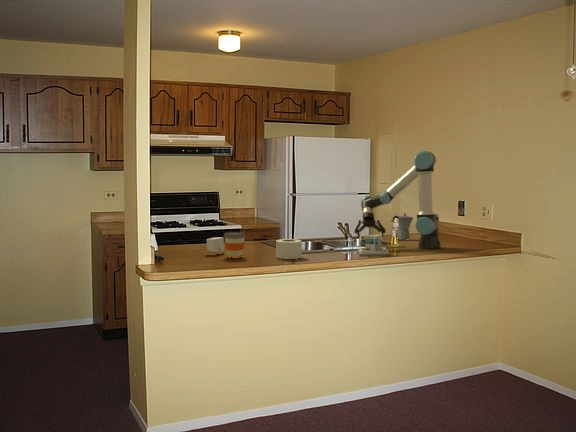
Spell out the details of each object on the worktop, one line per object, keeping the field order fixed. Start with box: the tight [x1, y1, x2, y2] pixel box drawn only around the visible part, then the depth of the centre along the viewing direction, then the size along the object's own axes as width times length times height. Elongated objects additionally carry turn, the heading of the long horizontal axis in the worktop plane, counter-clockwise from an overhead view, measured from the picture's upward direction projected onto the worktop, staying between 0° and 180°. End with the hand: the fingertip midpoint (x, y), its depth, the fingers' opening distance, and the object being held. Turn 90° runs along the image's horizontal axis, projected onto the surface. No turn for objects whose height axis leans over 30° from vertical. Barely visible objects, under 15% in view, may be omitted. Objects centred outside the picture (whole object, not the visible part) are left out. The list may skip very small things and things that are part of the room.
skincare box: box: [206, 236, 225, 252], centre depth 395 cm, size 10×6×10 cm, turn 152°
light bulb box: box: [364, 234, 382, 251], centre depth 395 cm, size 11×7×11 cm, turn 148°
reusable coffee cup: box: [223, 231, 246, 256], centre depth 381 cm, size 13×13×15 cm
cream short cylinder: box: [275, 238, 303, 260], centre depth 379 cm, size 16×15×11 cm
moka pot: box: [392, 212, 414, 241], centre depth 468 cm, size 10×15×20 cm, turn 78°
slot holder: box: [356, 246, 391, 257], centre depth 395 cm, size 19×19×3 cm
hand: (371, 240), depth 405 cm, fingers open, 13 cm apart
